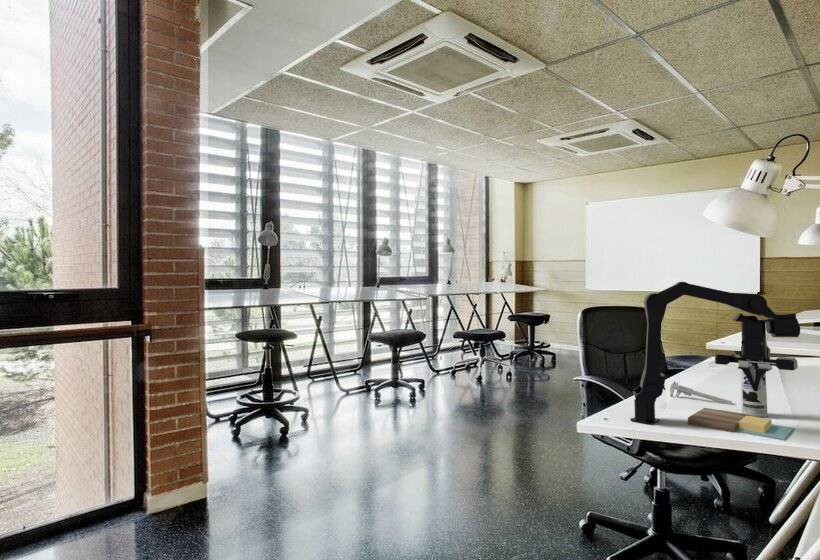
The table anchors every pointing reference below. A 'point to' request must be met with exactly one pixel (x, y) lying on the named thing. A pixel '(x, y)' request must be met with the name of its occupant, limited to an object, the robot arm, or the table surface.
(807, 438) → the table surface
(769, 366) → the robot arm
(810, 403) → the table surface
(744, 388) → the spray can
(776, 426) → the mat
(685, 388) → the caliper
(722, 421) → the brown slab
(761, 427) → the tile
